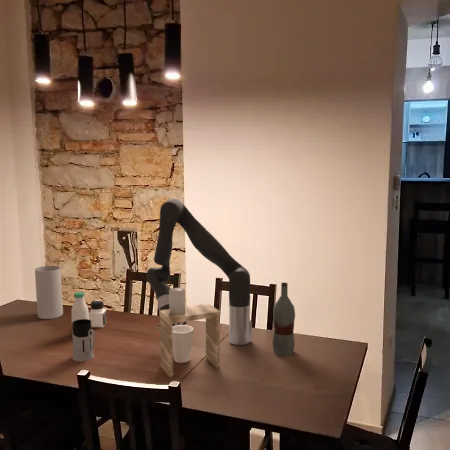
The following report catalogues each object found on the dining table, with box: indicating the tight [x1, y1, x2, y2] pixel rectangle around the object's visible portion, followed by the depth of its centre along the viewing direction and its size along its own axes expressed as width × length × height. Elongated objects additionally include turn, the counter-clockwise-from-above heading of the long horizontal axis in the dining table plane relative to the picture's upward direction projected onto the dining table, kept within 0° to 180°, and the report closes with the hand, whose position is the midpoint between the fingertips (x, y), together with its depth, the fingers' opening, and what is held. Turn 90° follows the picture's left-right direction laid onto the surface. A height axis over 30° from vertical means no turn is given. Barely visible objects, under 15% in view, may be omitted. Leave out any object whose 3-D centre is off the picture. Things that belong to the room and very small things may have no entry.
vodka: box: [272, 282, 296, 357], centre depth 213 cm, size 9×9×30 cm
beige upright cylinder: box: [169, 287, 186, 315], centre depth 195 cm, size 6×6×9 cm
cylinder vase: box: [34, 265, 64, 320], centre depth 262 cm, size 12×12×25 cm
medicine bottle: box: [88, 299, 108, 328], centre depth 249 cm, size 7×7×12 cm
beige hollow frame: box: [158, 303, 221, 378], centre depth 199 cm, size 21×11×23 cm, turn 116°
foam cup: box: [172, 324, 194, 364], centre depth 207 cm, size 10×9×13 cm
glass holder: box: [71, 319, 96, 362], centre depth 208 cm, size 9×14×15 cm, turn 44°
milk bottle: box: [70, 291, 89, 333], centre depth 235 cm, size 8×8×20 cm
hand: (177, 344), depth 212 cm, fingers closed
